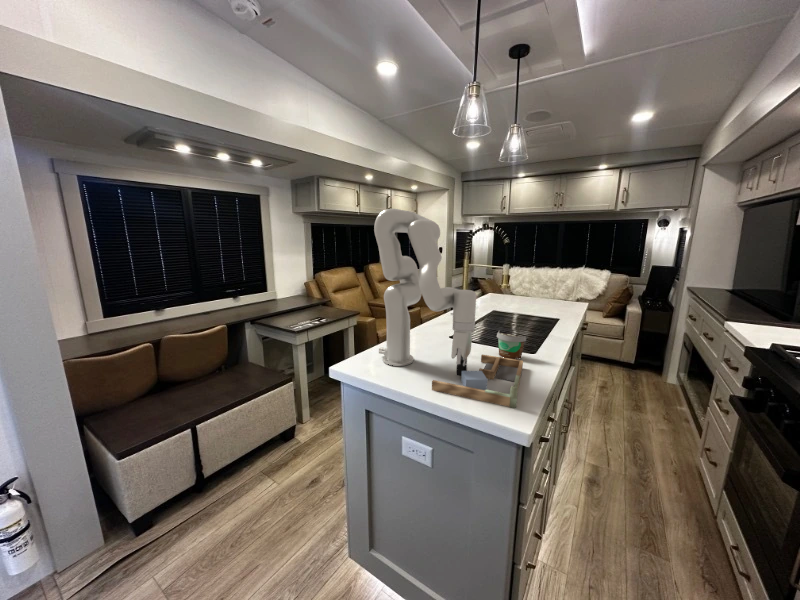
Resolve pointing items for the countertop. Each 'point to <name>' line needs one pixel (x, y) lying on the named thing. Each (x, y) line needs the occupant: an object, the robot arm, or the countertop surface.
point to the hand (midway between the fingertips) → (461, 375)
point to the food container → (510, 345)
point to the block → (474, 379)
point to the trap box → (506, 371)
